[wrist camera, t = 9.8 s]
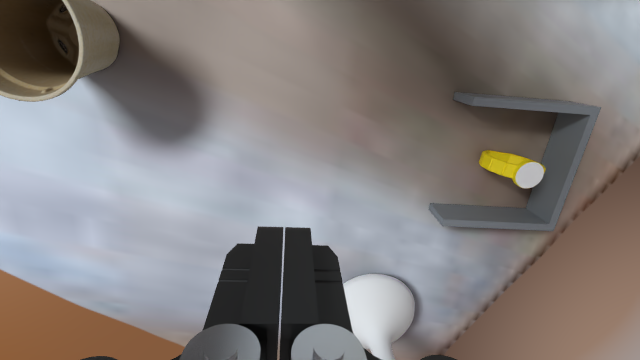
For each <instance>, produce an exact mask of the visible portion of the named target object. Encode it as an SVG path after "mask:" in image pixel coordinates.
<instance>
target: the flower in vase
mask: <svg viewBox="0 0 640 360" xmlns="http://www.w3.org/2000/svg"><path fill="white" fill-rule="evenodd" d="M343 287H344V292H345V297H346V302H347V307H348V312H349V317H350V322H351V326H352V330H353V333H354V335H355V336H356V337H357V338H358V340H359V341H360V343H361V344H362V346H363V348H364V349H370V350H371V352H372V355H374V356H375V357H377V358H379V359H381V360H395V358H394V355H393V351H392V345H391V343H393V342H395V341H396V340H398V339H399V338H400V337H401V336H402V335H403V334H404V333H405V332H406V331H407V329H408V328H409V326H410V325H411V323H412V321H413V318H414V313H415V301H414V297H413V294H412V292H411V291H410V289H409V288H408V287H407V286H406V285H405V284H404V283H403V282H401V281H400V280H398V279H396V278H394V277H391V276H388V275H383V274H365V275H361V276H357V277H355V278H352V279H350V280H349V281H347V282H345V283H344V284H343Z"/></svg>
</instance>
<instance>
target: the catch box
mask: <svg viewBox="0 0 640 360" xmlns="http://www.w3.org/2000/svg"><path fill="white" fill-rule="evenodd" d="M453 100H456V101H459V102H462V103H465V104H468V105H471V106H483V107H496V108H508V109H521V110H534V111H546V112H558V115H557V118H556V121H555V124H554V127H553V130H552V133H551V136H550V139H549V142H548V144H547V147H546V150H545V153H544V156H543V159H542V162H541V164H542V165H543V166H544V167H545V168H546V170H545V173H544V175H543V178H542V180H541V181H540V182H539V183H538V184H537V185H536V186H534V187H533V188H532V191H531V194H530V197H529V200H528V203H527V206H526V208H512V207H493V206H473V205H454V204H434V203H430V205H429V211H430V212H431V213H432V214H433V215H434V217H435V218H436V219H437V220H438V222H439V223H440V224H441V225H442V226H453V227H475V228H497V229H519V230H541V231H554V228H555V226H556V223H557V220H558V218H559V215H560V213H561V210H562V207H563V205H564V202H565V200H566V197H567V195H568V192H569V189H570V187H571V184H572V182H573V179H574V176H575V174H576V171H577V169H578V166H579V164H580V161H581V158H582V156H583V153H584V151H585V148H586V145H587V143H588V140H589V138H590V135H591V132H592V130H593V127H594V125H595V122H596V120H597V117H598V114H599V112H600V109H601V107H597V106H592V105H587V104H581V103H576V102H571V101H560V100H548V99H536V98H523V97H511V96H499V95H487V94H475V93H463V92H455V94H454V98H453Z"/></svg>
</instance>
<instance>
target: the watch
mask: <svg viewBox="0 0 640 360" xmlns="http://www.w3.org/2000/svg"><path fill="white" fill-rule="evenodd" d="M479 164H480V165H481V167H483V168H485V169H487V170H489V171H491V172H494V173H496V174H499V175H503V176H505V177H509V178H512V180H513V182H514V183H515V184H516V185H517V186H519V187H521V188H532V187H534V186H536V185H537V184H538V183H539V182H540V181H541V180H542V178H543V175H544V173H545V170H546V168H545V167H544V166H543V165H542V164H540V163H538V162H535V161H533V160H530V159H528V158H525V157H521V156H518V155H514V154H509V153H503V152H496V151H489V150H486V151H483V152H482V155H481V157H480V160H479Z"/></svg>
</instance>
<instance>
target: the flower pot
mask: <svg viewBox="0 0 640 360" xmlns="http://www.w3.org/2000/svg"><path fill="white" fill-rule="evenodd" d="M63 5H65V6H66V7H67V10H65V11H64V12H61V11H60V9H61V8H62V6H63ZM59 40H61V42H62V43H63V44H64V45H66V46H65V47H66V49H67V52H65V51H64V50H63V48H62V47H61V46H60V44H59ZM119 42H120V39H119V33H118V30H117V27H116V25H115V23H114V21H113V20H112V18H111V17H110V16H109V15H108V13H107V12H106V11H105V10H104V9H103V8H102V7H100V6H99V5H98V4H96V3H94V2H93V1H91V0H0V95H2V96H4V97H7V98H10V99H15V100H19V101H30V102H35V101H44V100H48V99H51V98H54V97H57V96H59V95H61V94H63V93H65V92H66V91H67V90H69V89H70V88H71V87H72V86H73V85H74V83H75V82H76V81H77V79H80V78H82V77H84V76H87V75H89V74H92V73H94V72H97V71H100V70H103V69H105V68H107V67H108V66H110V65H111V64H112V63H113V62H114V61H115V59H116V58H117V54H118V49H119Z"/></svg>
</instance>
